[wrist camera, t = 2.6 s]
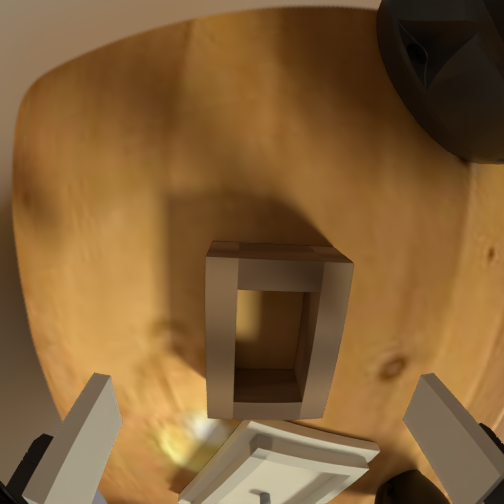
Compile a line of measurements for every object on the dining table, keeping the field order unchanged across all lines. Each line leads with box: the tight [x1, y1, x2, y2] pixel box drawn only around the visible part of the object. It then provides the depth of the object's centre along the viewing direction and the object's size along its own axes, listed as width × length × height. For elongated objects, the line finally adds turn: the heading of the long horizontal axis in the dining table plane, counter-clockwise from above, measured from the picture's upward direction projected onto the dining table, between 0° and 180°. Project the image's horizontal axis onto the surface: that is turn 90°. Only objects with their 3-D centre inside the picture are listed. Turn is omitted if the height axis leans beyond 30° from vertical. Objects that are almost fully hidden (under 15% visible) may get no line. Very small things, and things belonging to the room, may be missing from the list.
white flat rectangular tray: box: [178, 420, 380, 504], centre depth 21 cm, size 16×13×3 cm
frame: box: [205, 241, 354, 420], centre depth 17 cm, size 10×7×4 cm
